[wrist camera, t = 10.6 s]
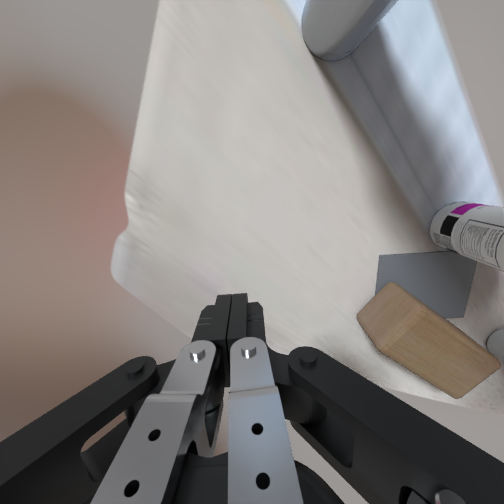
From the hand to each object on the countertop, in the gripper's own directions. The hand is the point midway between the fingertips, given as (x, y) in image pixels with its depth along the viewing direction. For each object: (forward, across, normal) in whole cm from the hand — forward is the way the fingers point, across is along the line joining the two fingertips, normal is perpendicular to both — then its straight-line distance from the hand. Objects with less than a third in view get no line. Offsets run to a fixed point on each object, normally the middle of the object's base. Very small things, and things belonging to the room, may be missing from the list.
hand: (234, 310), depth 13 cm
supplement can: (+32, -36, +5) cm, 48 cm away
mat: (+31, -33, +17) cm, 49 cm away
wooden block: (+26, -23, +18) cm, 39 cm away
